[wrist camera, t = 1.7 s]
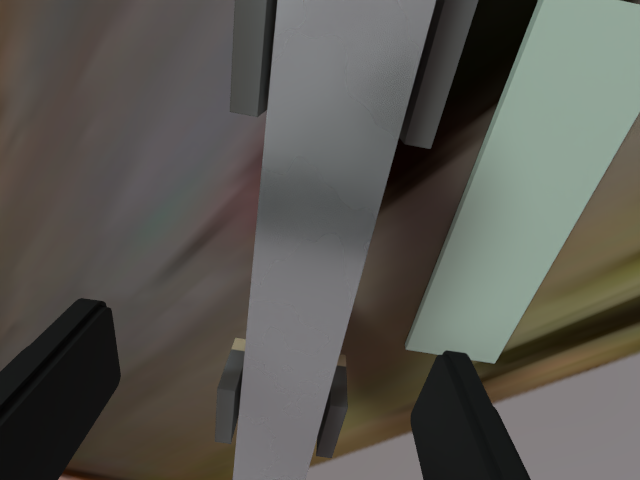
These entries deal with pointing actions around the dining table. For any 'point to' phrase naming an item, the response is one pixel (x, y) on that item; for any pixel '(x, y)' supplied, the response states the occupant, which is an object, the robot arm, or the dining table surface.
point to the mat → (533, 173)
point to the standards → (417, 130)
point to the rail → (318, 210)
